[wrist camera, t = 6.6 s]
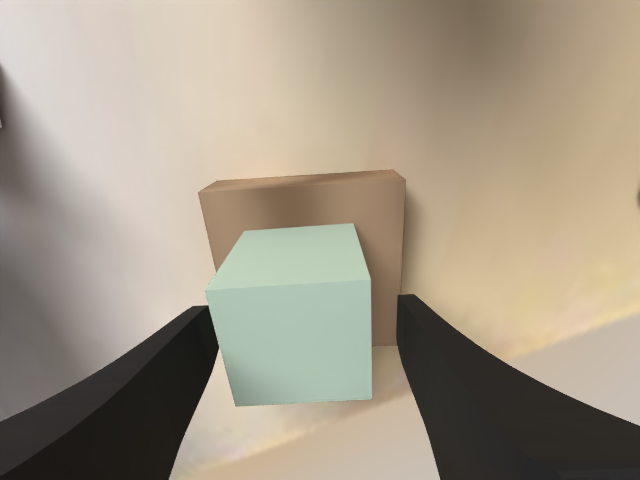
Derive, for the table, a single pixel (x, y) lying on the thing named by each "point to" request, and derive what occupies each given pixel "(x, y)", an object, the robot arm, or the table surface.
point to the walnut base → (320, 223)
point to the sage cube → (294, 316)
